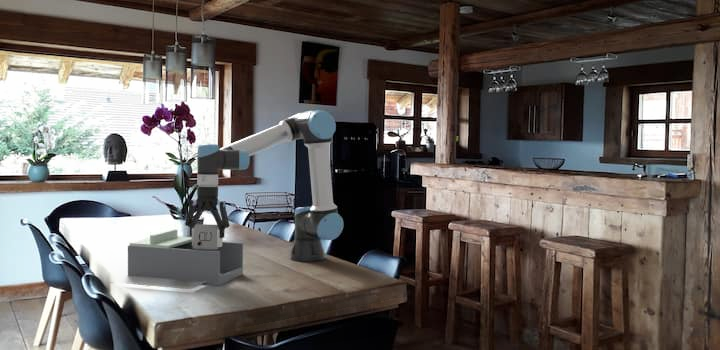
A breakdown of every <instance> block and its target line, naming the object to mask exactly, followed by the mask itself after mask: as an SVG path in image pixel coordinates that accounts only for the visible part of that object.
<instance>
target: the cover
mask: <svg viewBox="0 0 720 350" xmlns="http://www.w3.org/2000/svg"><path fill="white" fill-rule="evenodd" d="M189 242H192V236H184V237H178V229H170V230H166V231H162V232H159V233H155V234H151V235H149V238H145V239H141V240H137V241H133V242H130V243H129V245H130V246H139V247H154V248H168V249H169V248H172V247H175V246H179V245H182V244H185V243H189Z"/></svg>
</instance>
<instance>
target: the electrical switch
mask: <svg viewBox="0 0 720 350" xmlns="http://www.w3.org/2000/svg"><path fill="white" fill-rule="evenodd" d="M218 229H219V227H218V225H217V224H207V223H206V224H203V223H202V224H201V223H197V224H196V225H195V226H194V236H193V246H192V247H193V249H204V250H217V249H218V247H217V230H218ZM200 243H201V245H200Z"/></svg>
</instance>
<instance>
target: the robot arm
mask: <svg viewBox="0 0 720 350" xmlns="http://www.w3.org/2000/svg"><path fill="white" fill-rule="evenodd" d="M336 127H337V125H336V121H335V118H334V117H333V116H332V114H331V113H330V112H328V111H326V110H320V109H315V110H305V111H304V110H303V111H300V112H298V113H296V114H294V115H291V116H289V117H287V118H285V119H283V120H281V121H279V123H278V124H277V125H274V126H271V127H269V128H266V129H265V130H262V131H260V132H257V133H255V134H252V135H249V136H247V137H245V138H242V139H240V140H237V141H235V142H232V143H231V144H228V145H225V146H222V147H220V146H219V145H218V144H215V143H214V144H213V143H212V144H210V143H208V144H207V143H201V144H199V145H198V146H197V156H196V157H197V161H196V162H197V172H196V173H197V175H196V176H197V178H196V179H197V182H196V185H198V186H197V187H196V196H197V198H196V199H190V200H189V203H188V204H189V207H188V210H187V215H186V219H185V222H184V225H185V226H187V227H189V237H192V246H193V236H194V226H195V225H196V224H198V222H199V221H200V218H201V216H202V215H203V213H204V212H210V214H212V216H213V218H214V220H215V223H216V225H218V227H219V229H218V230H217V247H221V246H222V242H223V239H224V238H225V230H226V229H227V228H230V220H229V217H228V212H227V208H226V205H227V201H225V200H223V201H221V200H219V198H218V197H219V187H218V185H219V171H221V170H222V171H223V170H224V171H225V170H229V171H237V170H238V171H240V170H241V171H242V170H247V169H248V168H249V166H250V161H251V160H250V159H251V156H254V155H256V154H258V153H261V152H263V151H265V150H268V149H270V148H272V147H275V146H278V145H280V144H282V143H285V142H287V143H290V142H292V141H297V140H301V139H302V140H303V144H304V146H305V147H306V148H307V150H308V151H307V152H308V162H309V176H310V186H311V197H312V205H311V206H303V207H300V206H299V207H296V208H295V210H294V241H293V245H292V248H291V251H290V254H289V255H290V260H292V261H298V262H319V261H323V260H325V256H326V254H325V251H324V247H323V243H322V240H323V241H333V240H335V239H337V238H338V237H340V235H341V234H342V233H343V229H344V219H343V217H342V216H341V215H340V214H339V213H338V212H339V211H338V205H336V204H335V203H334V198H333V197H334V196H333V195H334V194H333V184H332V183H333V182H332V171H331V160H330V159H331V158H330V145H331V144H332V143H333V141H332V139H333V138H332V137H333V135H334V133H335V132H336V129H337V128H336ZM197 205H198V207H197V209H196V206H197ZM217 206H218V207H219V210H218V207H217ZM195 211H196V212H195Z"/></svg>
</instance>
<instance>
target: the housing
mask: <svg viewBox="0 0 720 350" xmlns="http://www.w3.org/2000/svg"><path fill="white" fill-rule="evenodd" d="M200 245H201V243H200ZM221 271H225V273H222V272H221ZM243 271H244V243H243V242H231V241H222V246H221V247H218V249H217V250H204V249H193V247H192V242H189V243H185V244H182V245H179V246H175V247H172V248H169V249H168V248H154V247H139V246H130V244H129V245H127V276H129V277H130V276H131V277H132V276H133V277H142V278H143V277H144V278H153V279H154V278H156V279H166V280H167V279H168V280H178V281H179V280H180V281H193V282H194V281H195V282H203V283H201V285H204V286H205V285H206V286H213V287H215V286H216V287H219V286H221V285H224V284H226V283H228V282H230V281H232V280H234V279H236V278H238V277H240V276H242V275H243V274H244V272H243Z"/></svg>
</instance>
